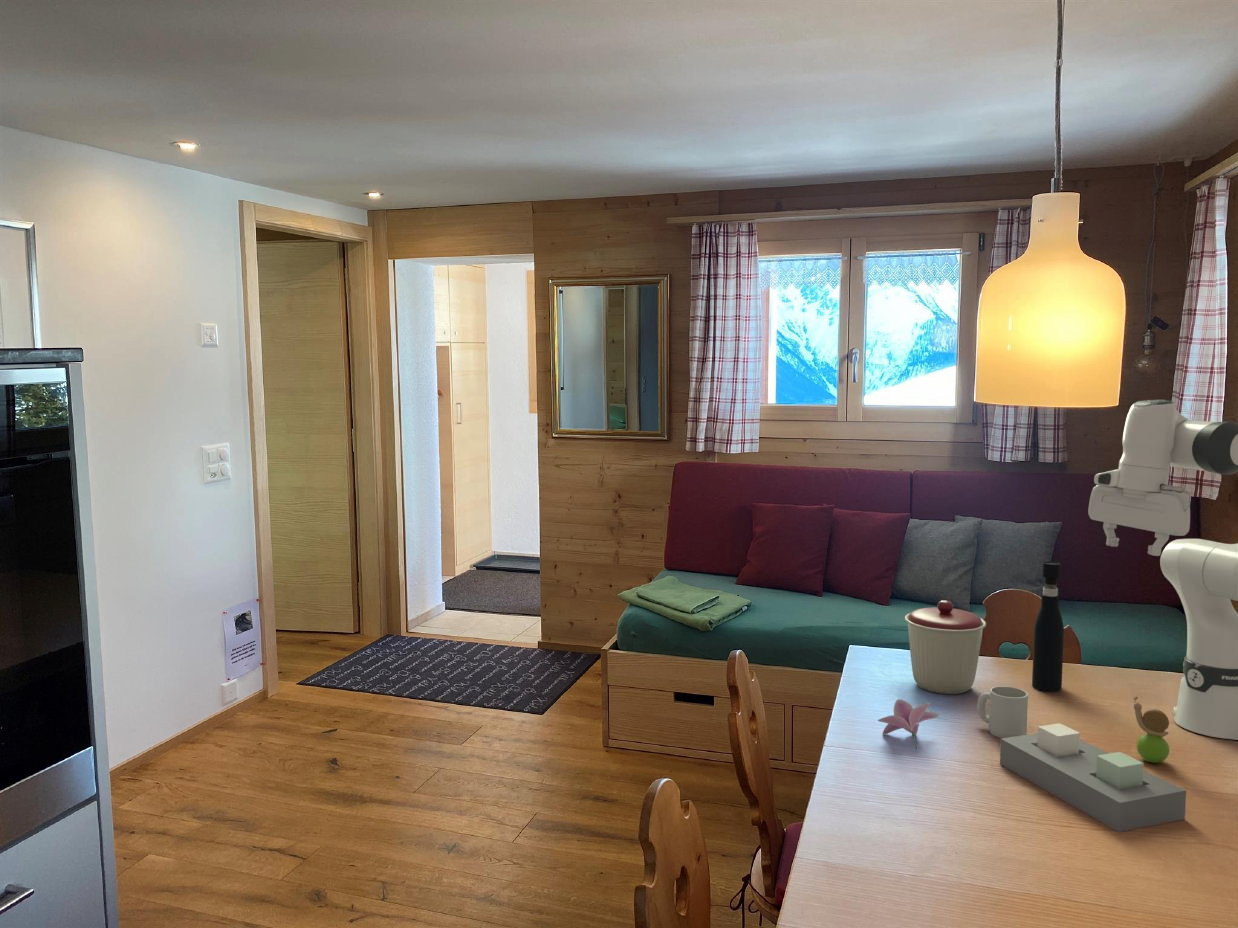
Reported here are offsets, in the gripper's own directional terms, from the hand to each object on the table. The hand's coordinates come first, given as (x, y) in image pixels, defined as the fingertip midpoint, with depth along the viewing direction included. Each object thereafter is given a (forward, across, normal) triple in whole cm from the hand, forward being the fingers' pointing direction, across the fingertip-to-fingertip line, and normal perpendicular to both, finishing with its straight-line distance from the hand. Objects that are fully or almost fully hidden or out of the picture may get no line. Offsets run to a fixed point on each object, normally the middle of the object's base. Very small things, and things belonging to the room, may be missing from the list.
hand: (1132, 550), depth 184 cm
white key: (+38, -7, +20) cm, 44 cm away
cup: (+42, +13, +14) cm, 46 cm away
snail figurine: (+40, -9, -1) cm, 41 cm away
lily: (+44, +16, +35) cm, 59 cm away
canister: (+41, +40, +6) cm, 57 cm away
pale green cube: (+38, -21, +21) cm, 48 cm away
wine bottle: (+39, +30, -16) cm, 51 cm away
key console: (+42, -14, +20) cm, 48 cm away
